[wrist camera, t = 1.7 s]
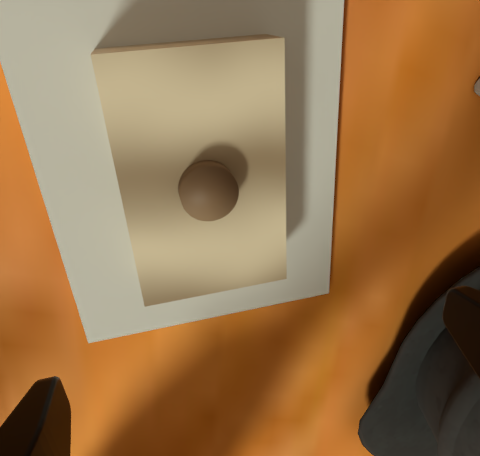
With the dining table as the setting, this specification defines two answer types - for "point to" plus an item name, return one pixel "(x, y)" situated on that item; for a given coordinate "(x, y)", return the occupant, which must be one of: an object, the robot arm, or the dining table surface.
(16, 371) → the dining table surface
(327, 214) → the mat
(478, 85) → the coffee box
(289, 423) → the dining table surface
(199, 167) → the lid
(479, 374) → the robot arm
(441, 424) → the casserole
